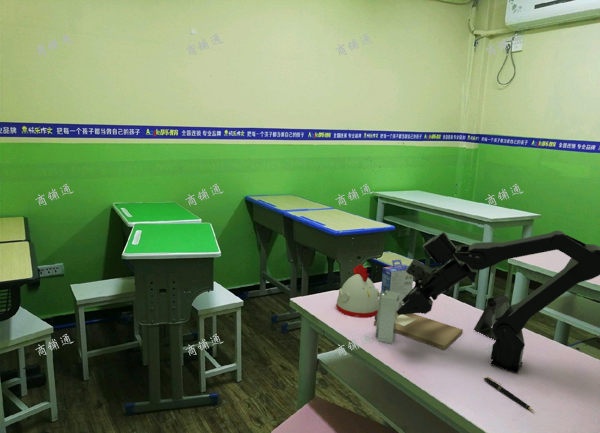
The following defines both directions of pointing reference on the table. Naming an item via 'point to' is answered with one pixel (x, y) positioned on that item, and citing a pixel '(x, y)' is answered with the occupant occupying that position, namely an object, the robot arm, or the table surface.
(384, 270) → the ink cartridge box
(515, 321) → the robot arm
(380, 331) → the brushed steel block
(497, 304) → the phone stand
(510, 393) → the fountain pen
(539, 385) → the table surface
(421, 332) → the walnut base leaf
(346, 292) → the kitchen timer
